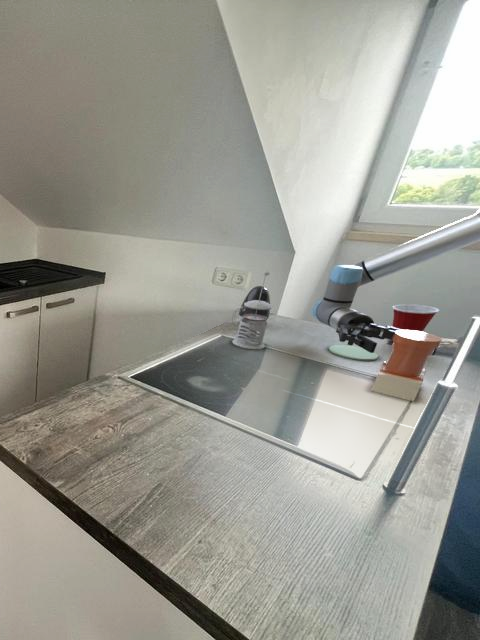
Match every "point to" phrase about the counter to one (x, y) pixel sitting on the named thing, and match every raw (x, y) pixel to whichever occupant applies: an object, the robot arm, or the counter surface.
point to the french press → (252, 324)
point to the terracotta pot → (411, 352)
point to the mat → (352, 352)
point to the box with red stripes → (397, 384)
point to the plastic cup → (412, 316)
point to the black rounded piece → (255, 295)
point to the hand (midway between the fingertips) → (403, 349)
